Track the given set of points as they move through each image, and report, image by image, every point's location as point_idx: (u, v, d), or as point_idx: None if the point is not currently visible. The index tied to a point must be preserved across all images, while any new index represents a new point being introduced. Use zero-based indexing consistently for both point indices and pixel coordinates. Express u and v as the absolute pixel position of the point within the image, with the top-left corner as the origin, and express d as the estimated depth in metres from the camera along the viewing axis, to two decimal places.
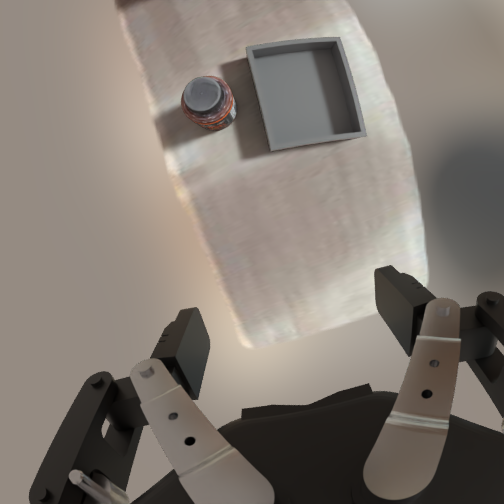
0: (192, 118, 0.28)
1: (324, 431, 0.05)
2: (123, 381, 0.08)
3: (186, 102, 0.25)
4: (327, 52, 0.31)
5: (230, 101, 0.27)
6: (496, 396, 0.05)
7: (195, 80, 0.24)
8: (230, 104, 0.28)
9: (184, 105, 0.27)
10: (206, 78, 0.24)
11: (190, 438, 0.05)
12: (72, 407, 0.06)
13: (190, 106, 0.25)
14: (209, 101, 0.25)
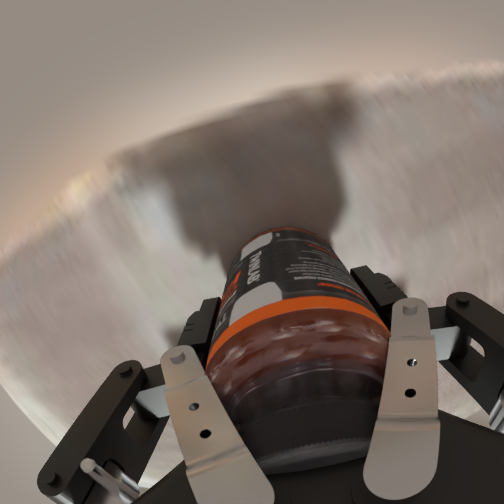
0: (218, 374, 0.06)
1: None
2: (151, 370, 0.09)
3: (284, 460, 0.04)
4: None
5: None
6: (478, 394, 0.05)
7: None
8: None
9: (287, 356, 0.06)
10: None
11: (206, 431, 0.05)
12: (96, 394, 0.07)
13: None
14: None
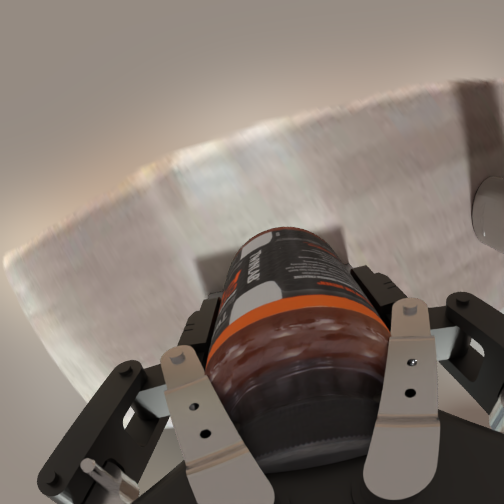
0: (218, 373, 0.06)
1: None
2: (150, 370, 0.08)
3: (284, 458, 0.04)
4: None
5: None
6: (478, 394, 0.05)
7: None
8: None
9: (287, 354, 0.06)
10: None
11: (206, 431, 0.05)
12: (96, 394, 0.07)
13: None
14: None
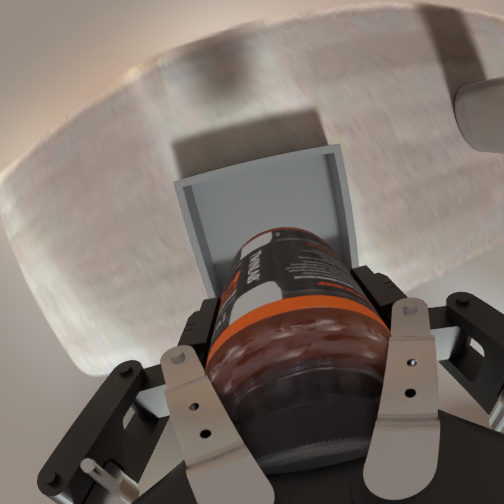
0: (218, 374, 0.06)
1: None
2: (151, 370, 0.09)
3: (285, 460, 0.04)
4: None
5: None
6: (478, 394, 0.05)
7: None
8: None
9: (288, 355, 0.06)
10: None
11: (206, 431, 0.05)
12: (96, 394, 0.07)
13: None
14: None
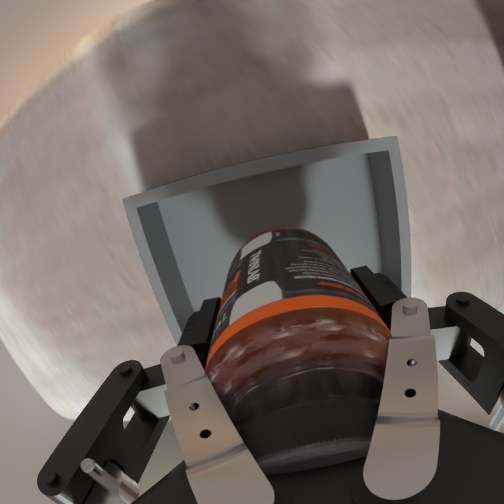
0: (218, 374, 0.06)
1: None
2: (151, 370, 0.09)
3: (285, 460, 0.04)
4: None
5: None
6: (478, 394, 0.05)
7: None
8: None
9: (288, 355, 0.06)
10: None
11: (206, 431, 0.05)
12: (96, 394, 0.07)
13: None
14: None
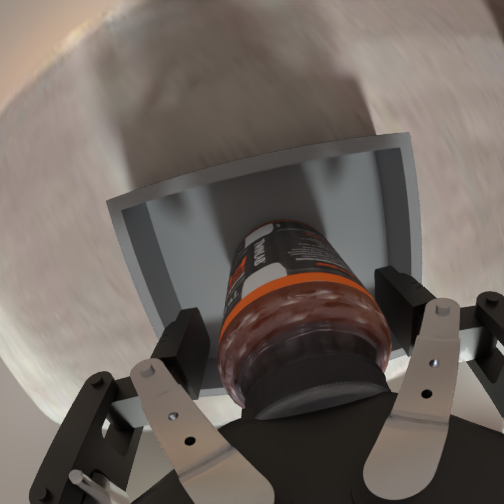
0: (234, 339, 0.08)
1: (324, 431, 0.05)
2: (123, 381, 0.08)
3: (296, 402, 0.05)
4: None
5: None
6: (496, 397, 0.05)
7: None
8: None
9: (294, 319, 0.07)
10: None
11: (190, 438, 0.05)
12: (72, 407, 0.06)
13: (272, 415, 0.05)
14: None
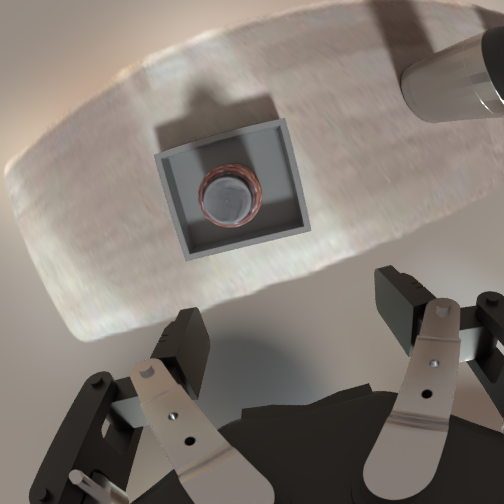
0: (203, 181, 0.24)
1: (324, 431, 0.05)
2: (122, 381, 0.08)
3: (215, 181, 0.22)
4: (293, 216, 0.34)
5: (224, 226, 0.26)
6: (496, 396, 0.05)
7: (246, 192, 0.22)
8: (221, 225, 0.26)
9: (220, 171, 0.24)
10: (248, 206, 0.22)
11: (190, 438, 0.05)
12: (72, 407, 0.06)
13: (209, 187, 0.22)
14: (215, 211, 0.23)
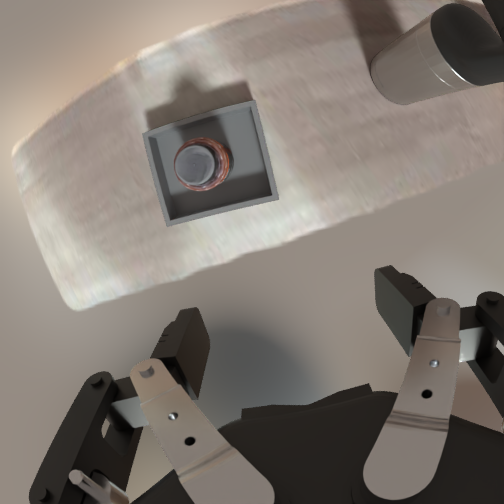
0: (178, 151, 0.27)
1: (324, 431, 0.05)
2: (122, 381, 0.08)
3: (185, 149, 0.25)
4: (265, 188, 0.37)
5: (195, 190, 0.29)
6: (496, 397, 0.05)
7: (210, 157, 0.25)
8: (192, 189, 0.29)
9: (191, 142, 0.27)
10: (211, 169, 0.26)
11: (190, 438, 0.05)
12: (72, 407, 0.06)
13: (180, 154, 0.25)
14: (184, 173, 0.26)
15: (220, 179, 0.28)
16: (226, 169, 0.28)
